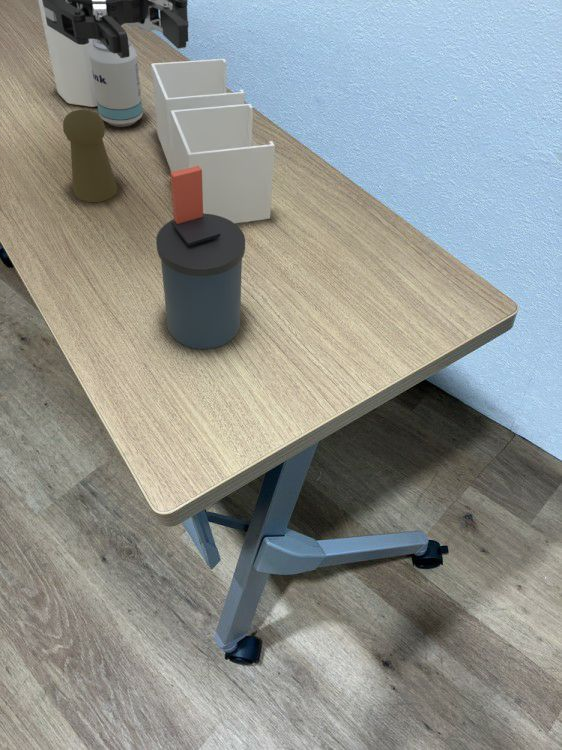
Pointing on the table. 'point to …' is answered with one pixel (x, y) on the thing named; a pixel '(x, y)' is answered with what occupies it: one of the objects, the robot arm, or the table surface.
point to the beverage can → (116, 85)
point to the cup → (70, 66)
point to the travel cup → (202, 284)
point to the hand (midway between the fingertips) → (154, 41)
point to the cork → (89, 157)
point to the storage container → (213, 138)
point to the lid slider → (190, 207)
